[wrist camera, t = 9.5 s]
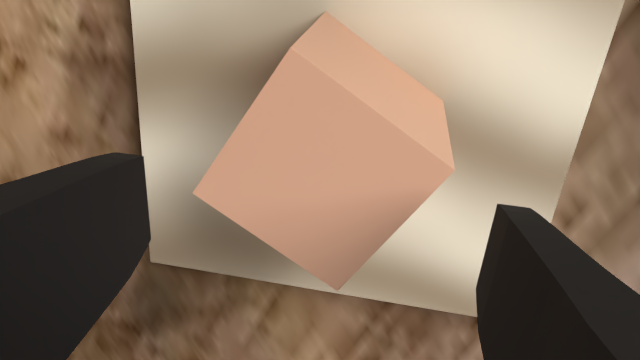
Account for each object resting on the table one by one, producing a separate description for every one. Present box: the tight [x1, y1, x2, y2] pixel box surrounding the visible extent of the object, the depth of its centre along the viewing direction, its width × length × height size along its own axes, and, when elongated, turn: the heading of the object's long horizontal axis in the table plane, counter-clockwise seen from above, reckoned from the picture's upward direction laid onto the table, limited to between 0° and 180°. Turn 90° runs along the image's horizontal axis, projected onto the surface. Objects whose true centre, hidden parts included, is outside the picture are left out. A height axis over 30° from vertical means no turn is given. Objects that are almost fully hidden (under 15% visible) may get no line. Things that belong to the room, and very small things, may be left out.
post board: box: [130, 0, 625, 317], centre depth 16 cm, size 14×14×4 cm
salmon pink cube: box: [193, 12, 455, 291], centre depth 14 cm, size 4×4×5 cm
